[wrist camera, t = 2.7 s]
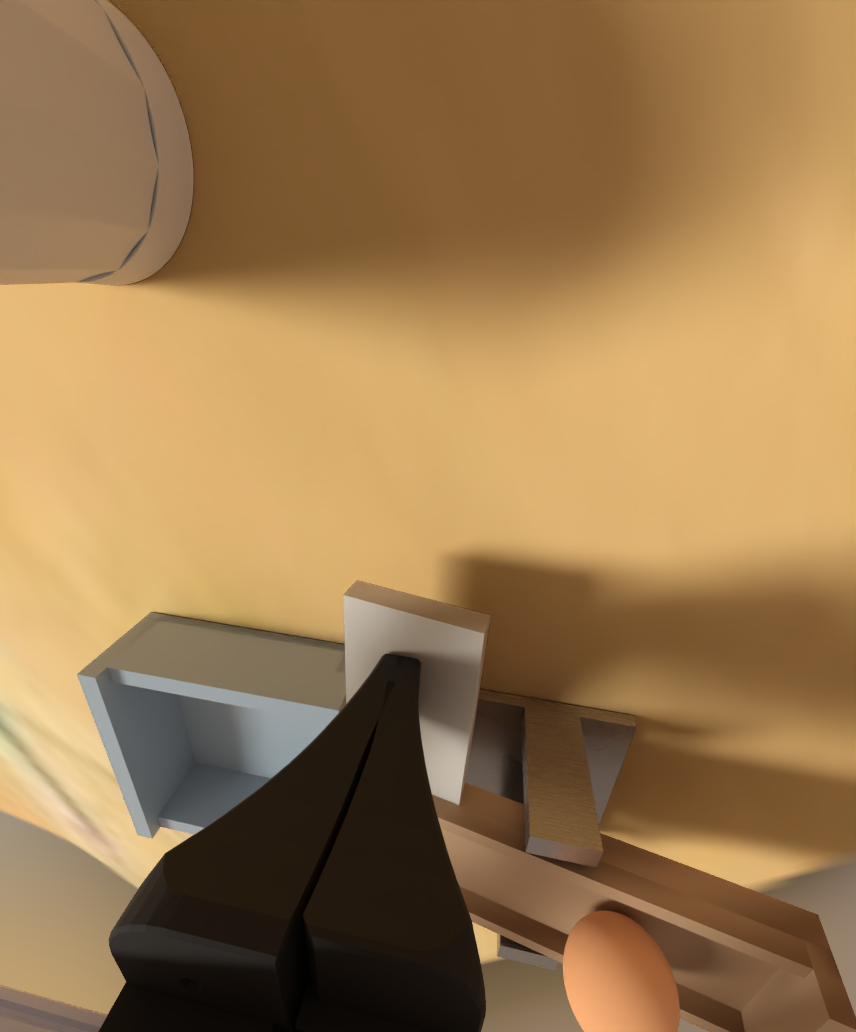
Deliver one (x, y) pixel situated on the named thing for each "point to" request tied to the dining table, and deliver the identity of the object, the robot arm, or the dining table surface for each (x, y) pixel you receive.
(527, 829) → the stand
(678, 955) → the seesaw
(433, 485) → the dining table surface
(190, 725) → the tray
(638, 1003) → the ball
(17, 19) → the cup
